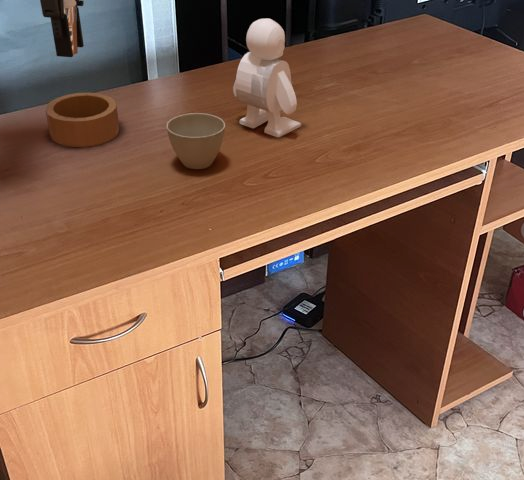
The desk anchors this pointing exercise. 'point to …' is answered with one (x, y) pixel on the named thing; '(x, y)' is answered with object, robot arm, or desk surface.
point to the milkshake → (71, 22)
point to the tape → (82, 119)
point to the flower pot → (196, 138)
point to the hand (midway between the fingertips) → (70, 50)
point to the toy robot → (266, 80)
